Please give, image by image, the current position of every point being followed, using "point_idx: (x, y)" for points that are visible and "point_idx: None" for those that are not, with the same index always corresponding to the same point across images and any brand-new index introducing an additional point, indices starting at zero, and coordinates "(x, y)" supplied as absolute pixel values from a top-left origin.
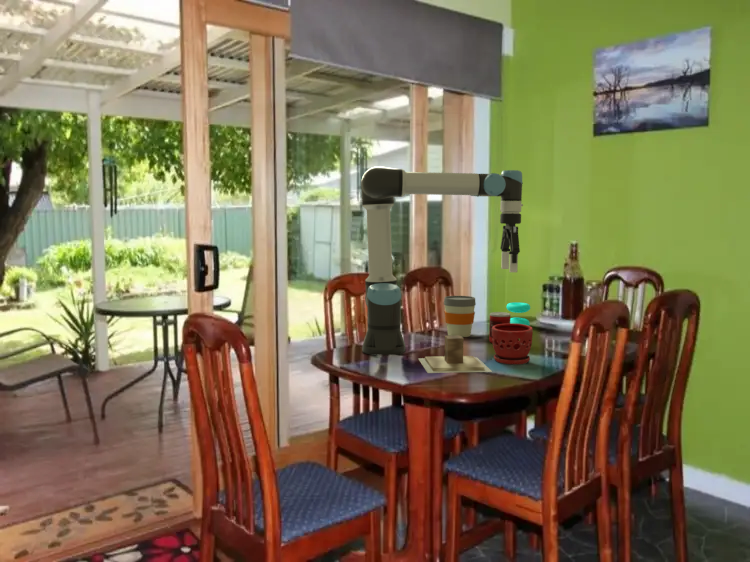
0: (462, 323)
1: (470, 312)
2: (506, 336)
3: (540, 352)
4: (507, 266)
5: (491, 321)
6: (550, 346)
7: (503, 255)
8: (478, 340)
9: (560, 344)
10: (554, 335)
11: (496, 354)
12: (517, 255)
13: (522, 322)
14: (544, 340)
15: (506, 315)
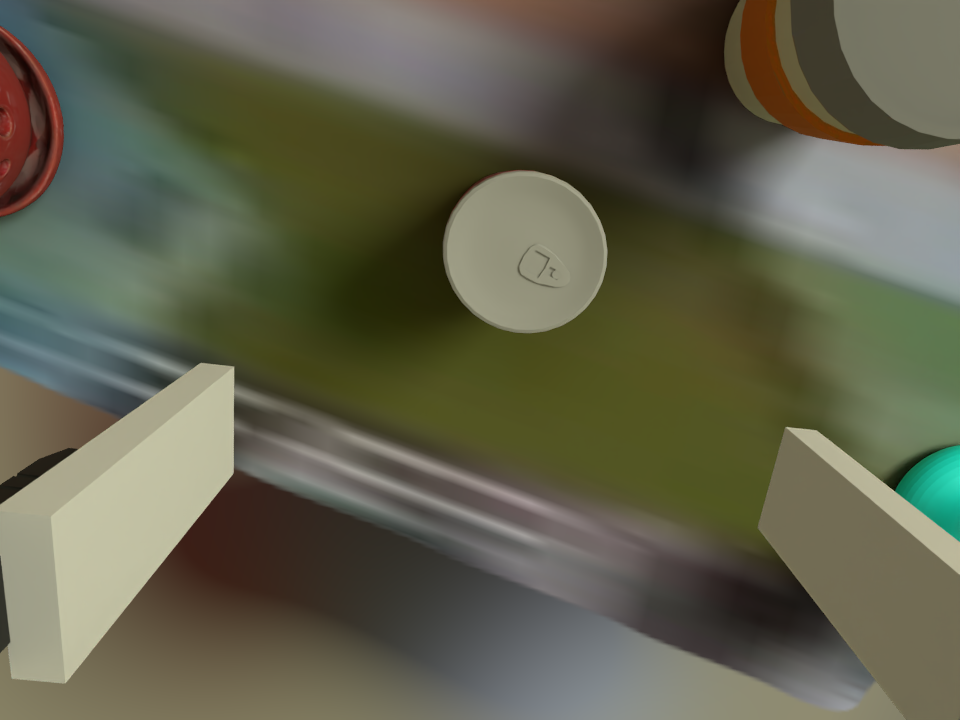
0: (744, 16)
1: (790, 78)
2: None
3: (228, 361)
4: (779, 530)
5: (497, 173)
6: (373, 465)
7: (923, 582)
8: (594, 122)
9: (418, 529)
10: (649, 588)
11: (4, 39)
12: (27, 647)
13: None
14: (529, 493)
15: (450, 281)
